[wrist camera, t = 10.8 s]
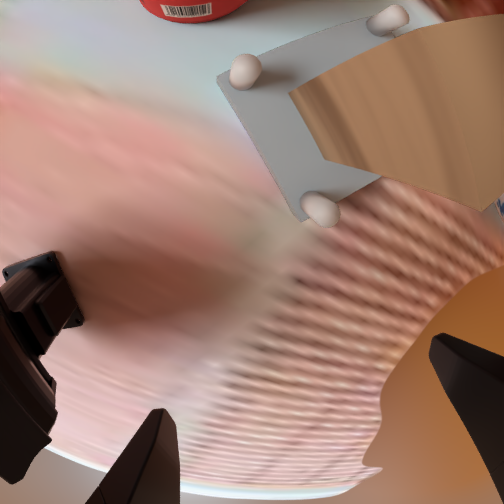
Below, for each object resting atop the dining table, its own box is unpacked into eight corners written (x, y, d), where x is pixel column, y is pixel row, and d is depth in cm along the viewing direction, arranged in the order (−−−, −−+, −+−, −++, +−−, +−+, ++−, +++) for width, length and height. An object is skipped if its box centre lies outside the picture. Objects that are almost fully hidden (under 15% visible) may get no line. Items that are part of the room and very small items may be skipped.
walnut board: (324, 159, 17) (481, 212, 6) (287, 93, 15) (418, 28, 4) (398, 120, 16) (560, 136, 5) (367, 58, 14) (522, 12, 3)
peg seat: (293, 214, 20) (316, 238, 15) (216, 82, 16) (216, 63, 11) (424, 140, 19) (468, 147, 14) (367, 21, 15) (404, 0, 10)
